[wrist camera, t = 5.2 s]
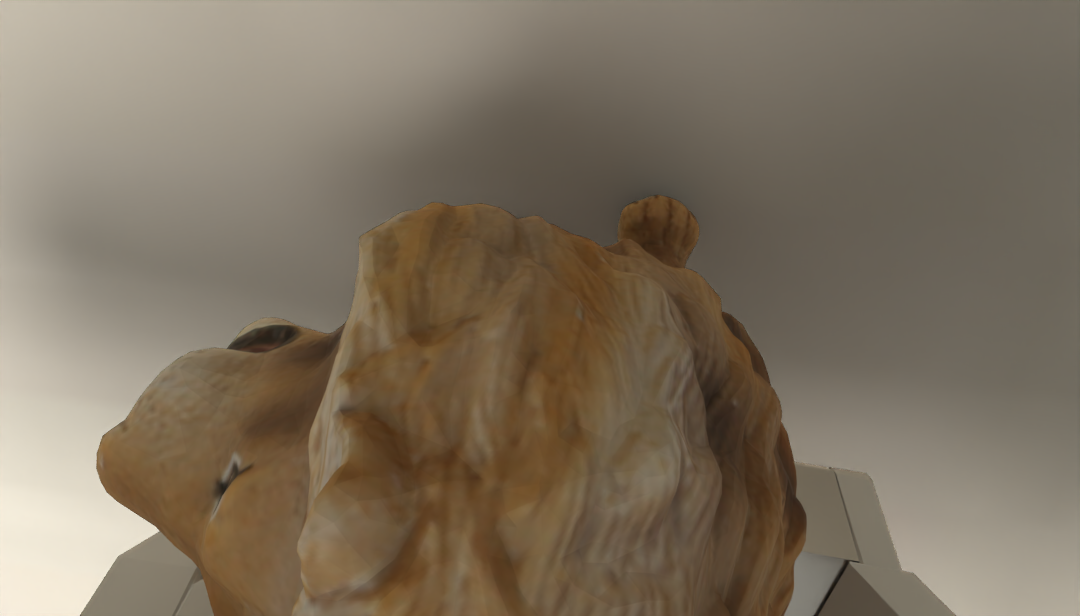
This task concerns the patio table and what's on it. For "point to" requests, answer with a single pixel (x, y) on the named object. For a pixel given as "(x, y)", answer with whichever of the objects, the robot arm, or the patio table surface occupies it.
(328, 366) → the lion figurine
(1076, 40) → the patio table surface
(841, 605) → the robot arm
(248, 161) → the patio table surface
